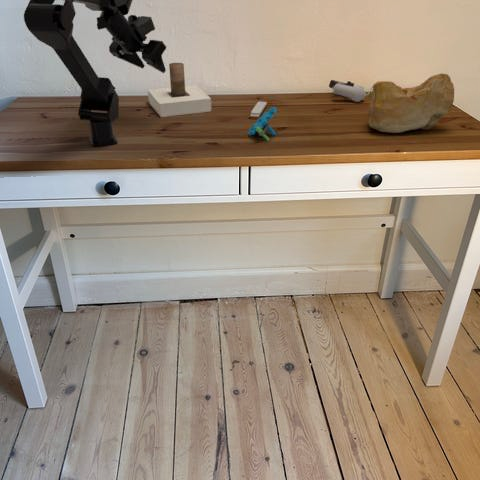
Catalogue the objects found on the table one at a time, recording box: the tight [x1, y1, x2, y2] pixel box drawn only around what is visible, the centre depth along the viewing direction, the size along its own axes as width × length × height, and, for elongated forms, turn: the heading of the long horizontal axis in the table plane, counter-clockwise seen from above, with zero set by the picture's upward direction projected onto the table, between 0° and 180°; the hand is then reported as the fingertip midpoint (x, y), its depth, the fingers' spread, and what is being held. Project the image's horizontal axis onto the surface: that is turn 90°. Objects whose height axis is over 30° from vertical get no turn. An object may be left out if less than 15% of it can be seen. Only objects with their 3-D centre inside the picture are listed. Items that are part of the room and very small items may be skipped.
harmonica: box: [248, 101, 268, 121], centre depth 145 cm, size 15×3×2 cm, turn 167°
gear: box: [248, 106, 277, 142], centre depth 126 cm, size 11×6×10 cm
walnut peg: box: [168, 62, 186, 97], centre depth 145 cm, size 5×5×13 cm
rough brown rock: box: [367, 73, 455, 134], centre depth 132 cm, size 23×17×15 cm
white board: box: [147, 84, 212, 118], centre depth 148 cm, size 16×16×4 cm
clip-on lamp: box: [328, 79, 373, 103], centre depth 157 cm, size 12×6×18 cm
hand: (153, 69), depth 136 cm, fingers open, 9 cm apart
